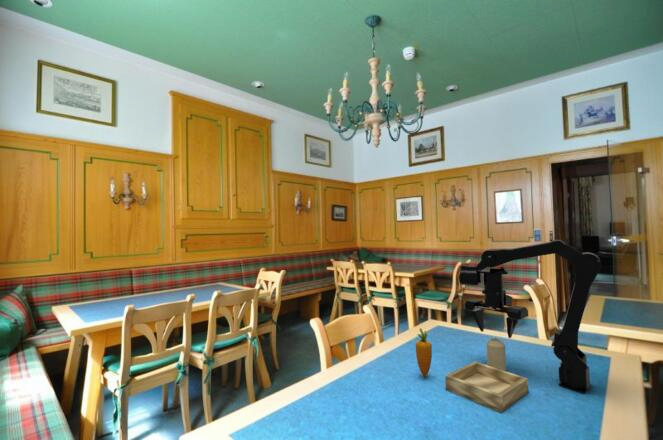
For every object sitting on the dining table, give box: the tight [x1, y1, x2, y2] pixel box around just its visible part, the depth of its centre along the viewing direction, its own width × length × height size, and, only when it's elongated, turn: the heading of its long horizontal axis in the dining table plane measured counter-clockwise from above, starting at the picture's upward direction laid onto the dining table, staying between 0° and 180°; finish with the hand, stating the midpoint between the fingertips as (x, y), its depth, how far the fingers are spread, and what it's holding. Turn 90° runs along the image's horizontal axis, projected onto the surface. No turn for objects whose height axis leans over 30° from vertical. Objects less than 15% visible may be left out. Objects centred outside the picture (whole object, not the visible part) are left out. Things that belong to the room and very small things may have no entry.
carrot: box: [415, 327, 433, 378], centre depth 105 cm, size 5×5×15 cm
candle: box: [486, 337, 507, 372], centre depth 109 cm, size 6×6×10 cm
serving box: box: [445, 361, 530, 414], centre depth 95 cm, size 16×16×4 cm
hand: (495, 334), depth 109 cm, fingers open, 9 cm apart
